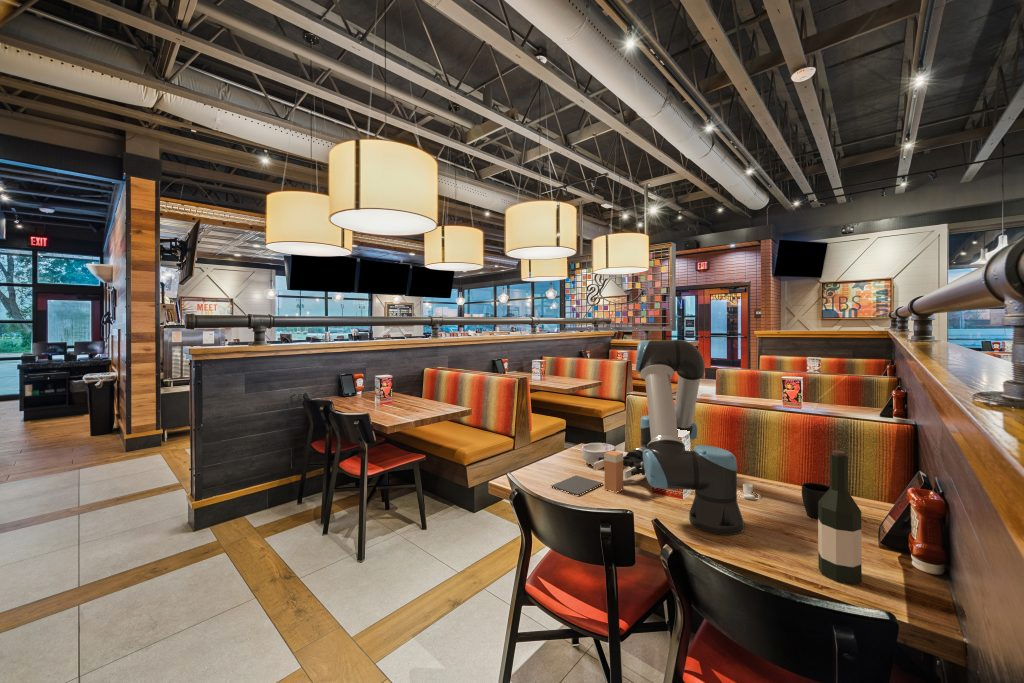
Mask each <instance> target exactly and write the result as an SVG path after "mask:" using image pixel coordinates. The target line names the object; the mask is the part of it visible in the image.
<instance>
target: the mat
mask: <svg viewBox="0 0 1024 683" xmlns="http://www.w3.org/2000/svg"><path fill="white" fill-rule="evenodd" d="M601 484H603V485H604V483H603V482H601V481H597V480H594V479H591V478H587V477H584V476H580V475H573V476H571V477H569V478H566V479H564V480H563V479H562V480H561V481H558V482H556V483H554V484H551V485H550V487H551V486H552V487H554V488H557V489H560V490H563V491H566V492H569V493H571V494H570V495H572V494H574V495H573V496H575V495H580V494H582V493H584V492H586V491H589V490H590V489H593V488H595V487H597V486H599V485H601ZM599 487H600V486H599ZM597 488H598V487H597ZM595 489H596V488H595ZM593 490H594V489H593ZM563 491H562V492H563ZM566 492H565V493H566ZM589 492H590V491H589ZM569 493H568V494H569ZM580 496H581V495H580Z"/></svg>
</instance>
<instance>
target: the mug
mask: <svg viewBox="0 0 1024 683" xmlns="http://www.w3.org/2000/svg"><path fill="white" fill-rule="evenodd" d="M829 489H830V486H828V485H826V484H822V483H816V482H804V483H802V484H801V499H802V503H803V507H804V510H805V514H806V516H807V517H808V518H811V519H812V520H815V521H818V501H819V500H820V499H821V498H822V497H823V496H824V494H825V493H826V492H827V491H828V490H829Z"/></svg>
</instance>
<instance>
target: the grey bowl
mask: <svg viewBox="0 0 1024 683" xmlns="http://www.w3.org/2000/svg"><path fill="white" fill-rule="evenodd" d="M580 450H581V458H582V459H583V460H585V462H586V463H587V464H588V463H589V464H591V465H593V463H595V462H598V458H599V457H604V453H606V452H609V451H616V452H617V449H616V447H615V445H612V444H609V443H606V442H603V443H602V442H590V443H587V444H583V445H582V446H581V449H580ZM589 464H588V465H589Z"/></svg>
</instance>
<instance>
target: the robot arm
mask: <svg viewBox="0 0 1024 683" xmlns="http://www.w3.org/2000/svg"><path fill="white" fill-rule="evenodd" d="M636 348H637V349H636V360H635V372H636V373H639V374H640V377H641V378H642V380H644V381H645V391H646V402H647V410H648V414H647V415H642V416H641V417H640V426H639V427H640V446H639V447H637V448H634V449H632V450H629V451H628V452H627V453H626V454H625V455H623V467H629V468H628V469H626V470H624V479H626V480H628V479H629V478H631V477H634V476H636V475H640V474H641V475H642V476H645V477H646V481H647V482H648V484H649V485H650V486H651V487H652V488H654V489H664V490H683V491H684V490H685V491H687V490H688V491H694V498H693V500H692V504H691V506H690V510H689V518H688V519H689V522H690V524H691V525H692V526H693V527H695V528H697V529H698V530H701V531H704V532H707V533H710V534H714V535H719V536H721V535H722V536H734V535H737V534H741V533H743V531H744V530H745V527H744V525H745V524H744V523H745V522H744V517H743V515H742V513H741V510H740V509H741V508H740V506H739V504H738V503H739V502H738V496H737V491H738V489H737V488H738V485H737V484H738V481H737V480H738V478H737V477H738V476H737V475H738V473H737V472H738V465H737V457H736V456H735V455H734V453H733V452H730V450H727V449H723V448H721V447H717V446H714V445H713V446H712V445H707V444H706V445H705V444H700V445H699V444H697V445H695V446H694V448H693V450H686V445H685V442H683V441H681V440H679V438H678V430H677V429H680V430H687V431H690V441H691V440H695V439H697V437H698V426H697V423H696V421H694V416H695V412H696V405H697V399H698V393H699V388H700V381H701V379H702V378H703V377H704V376H705V371H706V370H705V369H706V367H705V365H706V364H705V360H704V357H703V355H702V353H701V352H700V350H699V349H698V348H697V347H696V345H694V344H693V343H691V342H689V341H688V340H683V339H667V340H665V339H662V340H651V339H649V340H641V341H639V342H638V343H637V347H636ZM675 373H676V374H677V376H678V379H677V385H676V394H675V401H674V397H673V396H674V395H673V387H672V381H671V378H672V377H673V376H674V374H675ZM592 467H593V471H597V470H600V469H602V468H604V457H599V458H598V462H595V463H593V466H592Z"/></svg>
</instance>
